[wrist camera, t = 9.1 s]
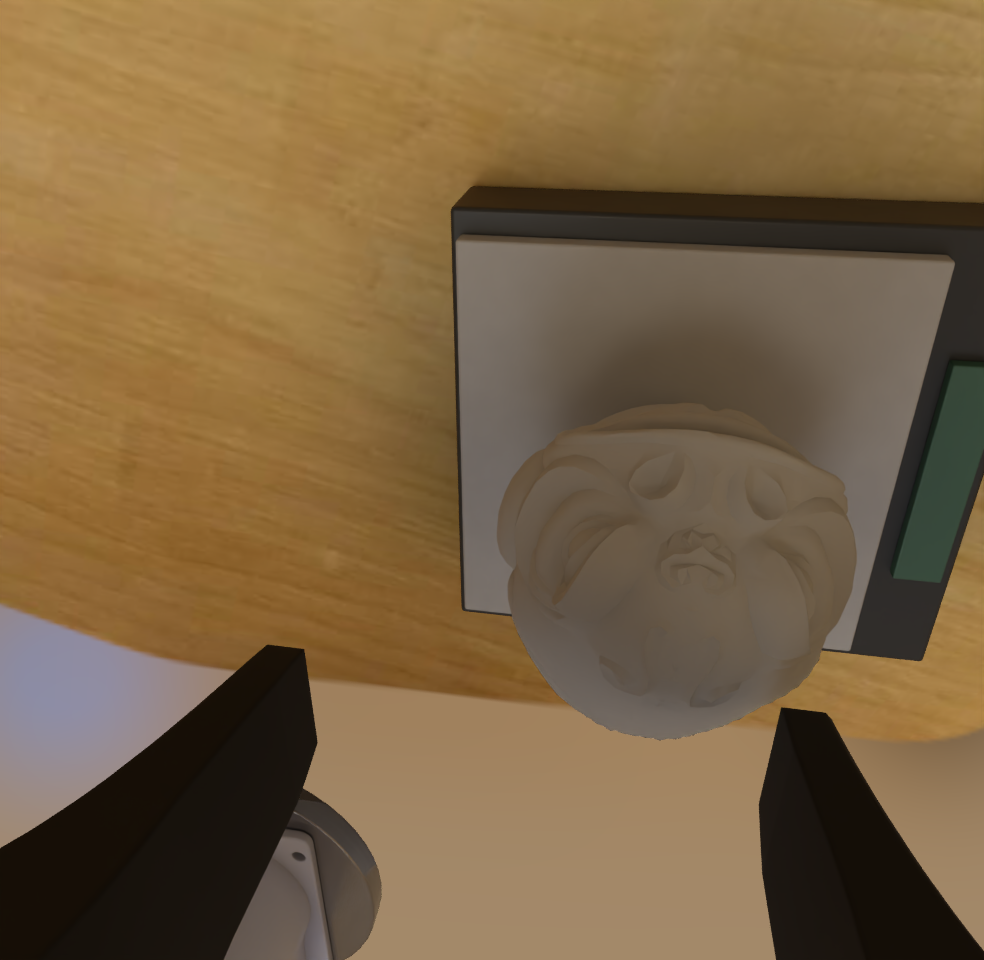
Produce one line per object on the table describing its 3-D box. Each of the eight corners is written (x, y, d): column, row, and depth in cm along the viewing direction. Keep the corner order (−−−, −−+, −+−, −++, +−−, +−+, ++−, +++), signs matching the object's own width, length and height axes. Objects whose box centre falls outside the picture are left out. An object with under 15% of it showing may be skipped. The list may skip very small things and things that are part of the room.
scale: (903, 609, 22) (928, 677, 20) (475, 566, 23) (456, 625, 21) (1026, 204, 17) (1077, 237, 15) (469, 185, 18) (443, 212, 16)
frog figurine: (870, 326, 16) (991, 535, 10) (770, 617, 20) (814, 896, 14) (546, 277, 17) (478, 446, 11) (506, 568, 20) (440, 815, 14)
